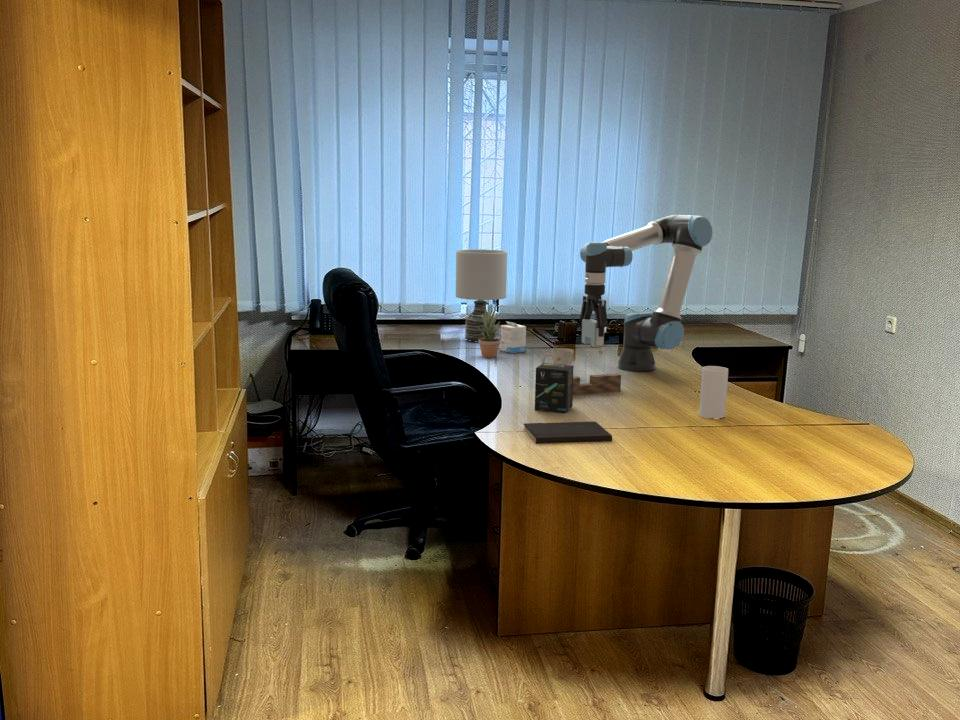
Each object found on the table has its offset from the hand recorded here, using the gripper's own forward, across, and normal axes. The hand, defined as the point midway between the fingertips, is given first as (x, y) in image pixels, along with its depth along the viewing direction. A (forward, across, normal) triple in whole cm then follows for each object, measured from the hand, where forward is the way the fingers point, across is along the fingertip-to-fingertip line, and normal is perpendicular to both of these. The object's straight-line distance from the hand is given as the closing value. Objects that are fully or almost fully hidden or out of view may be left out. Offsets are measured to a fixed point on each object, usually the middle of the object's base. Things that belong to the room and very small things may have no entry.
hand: (592, 342), depth 333 cm
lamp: (+16, -99, -7) cm, 101 cm away
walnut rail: (+15, +14, -10) cm, 23 cm away
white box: (+16, -68, -3) cm, 70 cm away
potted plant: (+16, -60, -18) cm, 65 cm away
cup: (+16, +56, +15) cm, 60 cm away
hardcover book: (+16, +62, -41) cm, 76 cm away
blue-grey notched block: (+1, 0, 0) cm, 1 cm away
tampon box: (+16, +32, -31) cm, 47 cm away
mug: (+16, -17, -6) cm, 24 cm away
